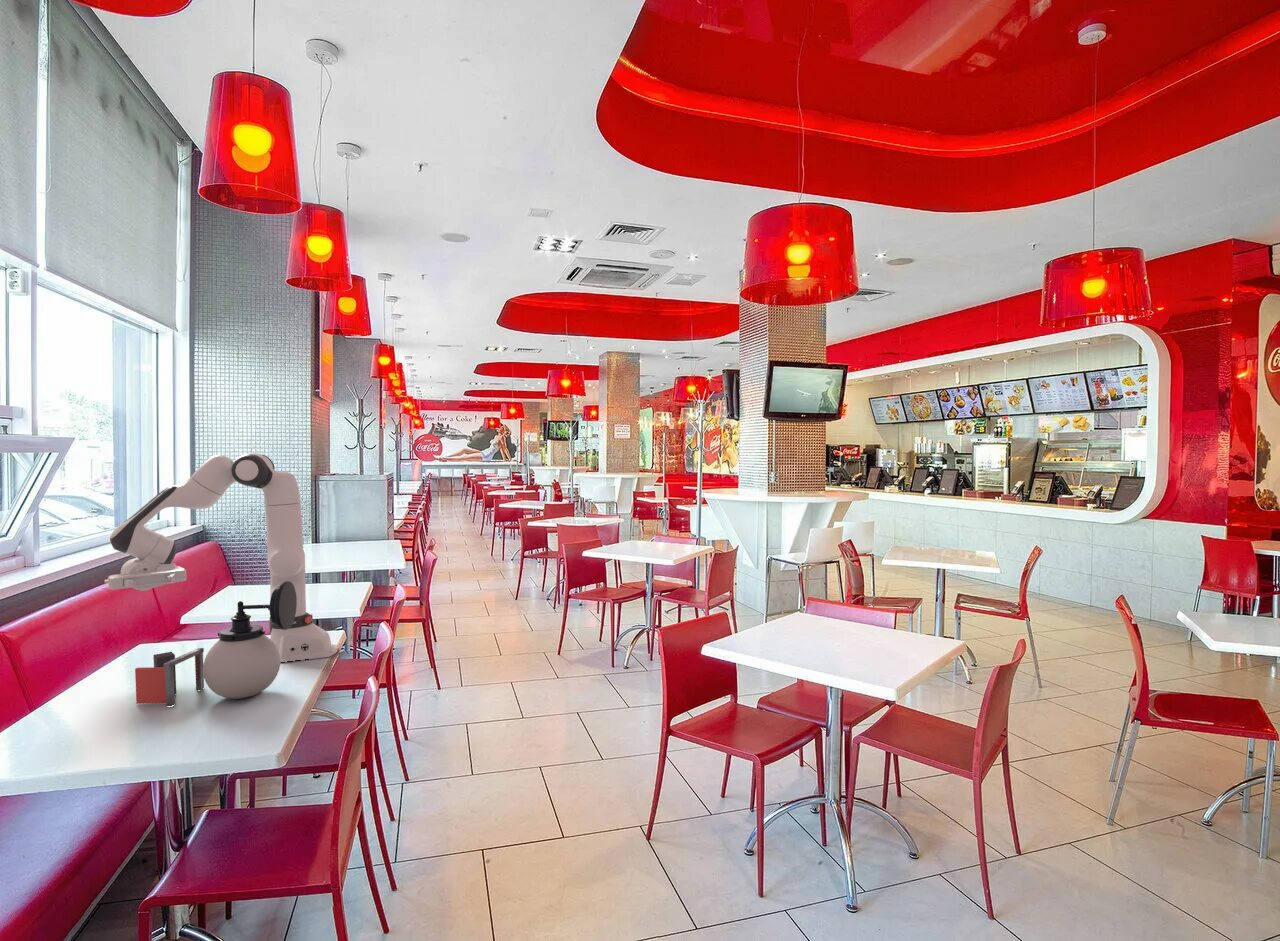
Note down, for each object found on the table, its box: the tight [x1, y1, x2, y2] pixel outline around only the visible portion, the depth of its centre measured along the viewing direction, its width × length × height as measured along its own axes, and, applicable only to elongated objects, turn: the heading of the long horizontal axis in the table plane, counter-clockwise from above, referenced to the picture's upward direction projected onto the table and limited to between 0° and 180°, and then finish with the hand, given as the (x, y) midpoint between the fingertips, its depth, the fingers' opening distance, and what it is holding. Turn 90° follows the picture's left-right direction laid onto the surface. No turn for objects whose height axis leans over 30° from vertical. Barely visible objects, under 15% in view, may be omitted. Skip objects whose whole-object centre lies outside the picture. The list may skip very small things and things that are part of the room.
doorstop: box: [152, 651, 177, 695], centre depth 212 cm, size 4×4×12 cm
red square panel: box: [134, 666, 166, 705], centre depth 204 cm, size 10×1×10 cm, turn 89°
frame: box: [164, 647, 205, 707], centre depth 209 cm, size 16×2×12 cm, turn 179°
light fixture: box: [203, 581, 297, 700], centre depth 210 cm, size 20×23×33 cm
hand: (152, 581), depth 220 cm, fingers open, 8 cm apart
